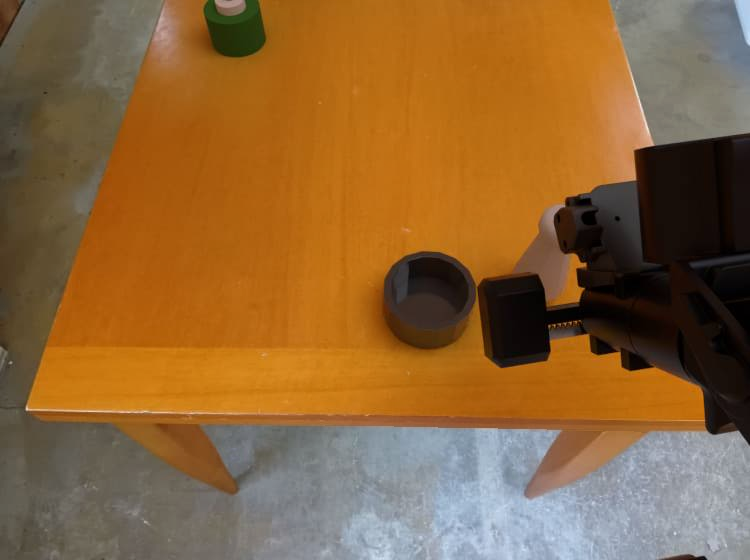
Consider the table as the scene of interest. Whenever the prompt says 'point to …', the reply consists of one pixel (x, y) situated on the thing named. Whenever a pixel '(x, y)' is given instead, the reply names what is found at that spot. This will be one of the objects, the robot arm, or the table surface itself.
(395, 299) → the holder
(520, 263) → the salt shaker
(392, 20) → the table surface
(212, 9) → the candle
